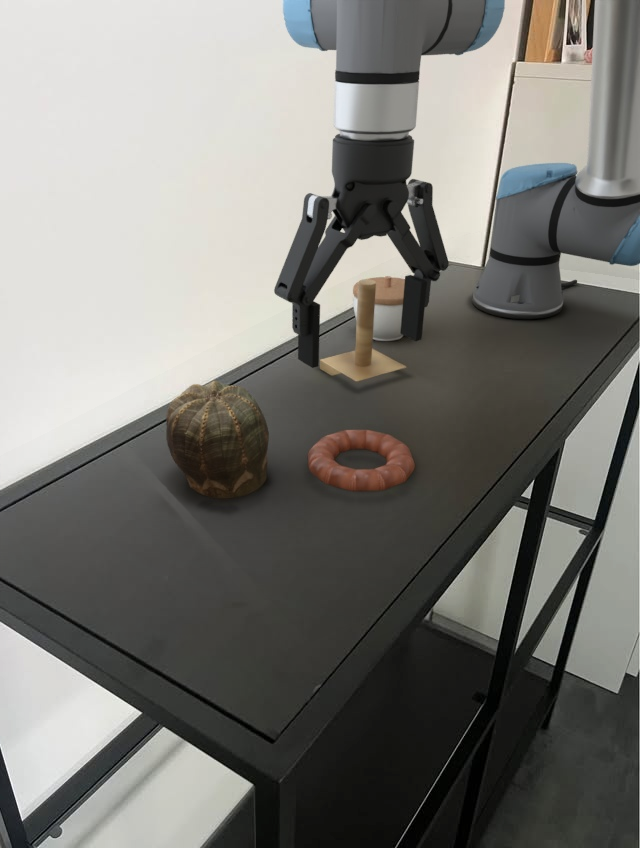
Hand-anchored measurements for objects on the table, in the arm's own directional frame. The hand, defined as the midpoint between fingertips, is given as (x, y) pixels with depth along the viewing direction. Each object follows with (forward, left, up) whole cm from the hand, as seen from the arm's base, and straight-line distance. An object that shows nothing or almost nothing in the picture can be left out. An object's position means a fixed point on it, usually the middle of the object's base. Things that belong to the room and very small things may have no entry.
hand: (361, 349), depth 82 cm
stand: (-17, -21, -15) cm, 30 cm away
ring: (0, +1, -13) cm, 13 cm away
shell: (+15, -5, -15) cm, 22 cm away
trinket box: (-29, -31, -15) cm, 45 cm away
